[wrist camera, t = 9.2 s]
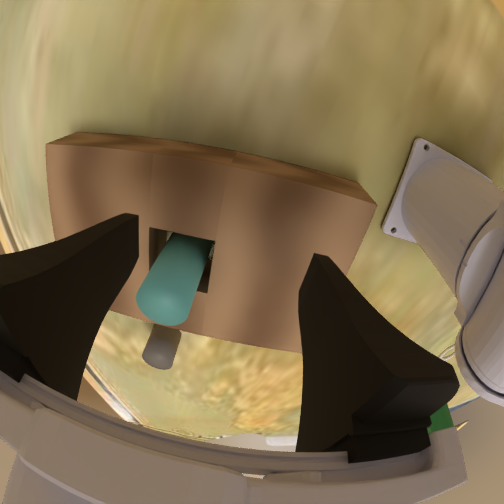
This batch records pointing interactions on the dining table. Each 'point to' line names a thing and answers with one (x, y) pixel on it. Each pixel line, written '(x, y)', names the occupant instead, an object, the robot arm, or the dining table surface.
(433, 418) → the beverage can
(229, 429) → the dining table surface
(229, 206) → the walnut hole block
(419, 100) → the dining table surface
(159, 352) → the charcoal stub
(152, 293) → the teal pin
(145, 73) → the dining table surface
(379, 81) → the dining table surface
